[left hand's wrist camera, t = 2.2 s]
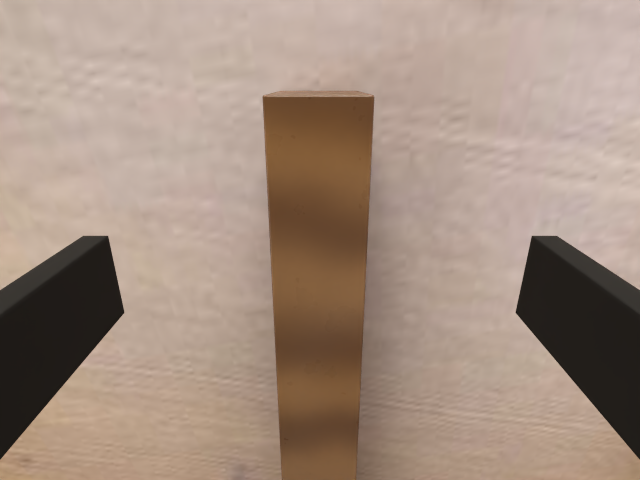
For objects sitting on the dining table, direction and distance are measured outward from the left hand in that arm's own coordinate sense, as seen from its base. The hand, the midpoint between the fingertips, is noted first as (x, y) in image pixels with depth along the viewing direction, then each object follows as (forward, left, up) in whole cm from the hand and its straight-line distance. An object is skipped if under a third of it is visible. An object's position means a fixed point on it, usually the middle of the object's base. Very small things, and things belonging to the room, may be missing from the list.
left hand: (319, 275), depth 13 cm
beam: (+6, -20, -14) cm, 25 cm away
